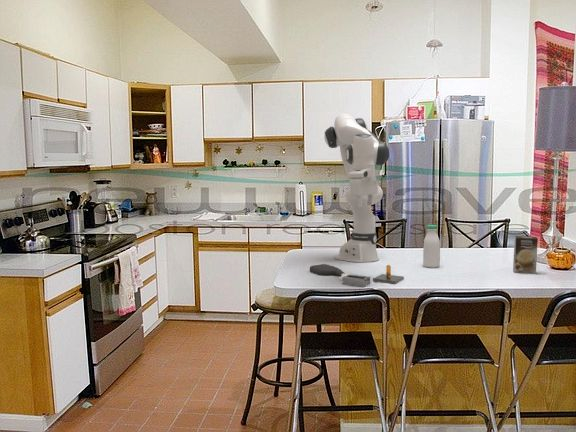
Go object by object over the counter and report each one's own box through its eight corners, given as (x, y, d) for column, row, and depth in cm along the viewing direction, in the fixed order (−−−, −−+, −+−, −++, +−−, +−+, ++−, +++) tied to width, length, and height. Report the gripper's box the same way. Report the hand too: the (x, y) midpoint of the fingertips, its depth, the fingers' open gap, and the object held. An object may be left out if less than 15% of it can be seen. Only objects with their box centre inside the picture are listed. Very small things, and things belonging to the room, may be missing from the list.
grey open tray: (342, 284, 215) (342, 277, 215) (348, 281, 220) (348, 274, 220) (364, 287, 210) (364, 279, 210) (370, 284, 215) (370, 276, 215)
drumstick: (326, 269, 247) (358, 280, 226) (307, 272, 241) (338, 283, 220) (326, 263, 246) (358, 273, 225) (307, 266, 241) (338, 276, 220)
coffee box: (514, 273, 232) (515, 237, 230) (512, 270, 238) (514, 235, 236) (536, 274, 229) (537, 238, 227) (534, 271, 235) (536, 236, 233)
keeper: (372, 281, 220) (373, 265, 219) (382, 276, 228) (382, 261, 227) (395, 284, 214) (395, 268, 214) (403, 279, 223) (404, 263, 222)
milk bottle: (440, 268, 244) (441, 226, 242) (423, 267, 245) (424, 226, 243) (439, 265, 251) (439, 224, 249) (422, 264, 253) (423, 224, 251)
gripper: (367, 172, 225) (368, 204, 226) (346, 173, 208) (347, 208, 209) (381, 172, 222) (381, 204, 223) (360, 173, 205) (361, 208, 206)
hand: (364, 206), depth 216 cm, fingers open, 8 cm apart
